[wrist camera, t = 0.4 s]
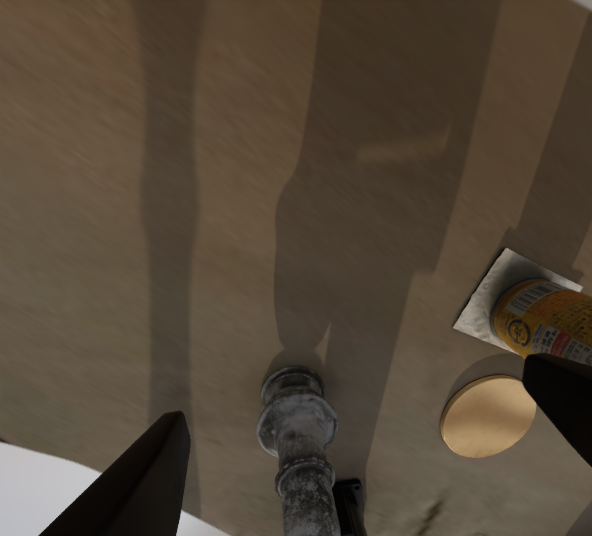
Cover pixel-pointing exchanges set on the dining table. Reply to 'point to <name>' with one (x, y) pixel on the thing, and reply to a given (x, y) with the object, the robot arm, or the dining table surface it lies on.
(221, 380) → the dining table surface
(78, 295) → the dining table surface
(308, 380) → the grey carved stone piece
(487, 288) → the condiment
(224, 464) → the dining table surface
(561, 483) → the dining table surface
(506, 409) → the coaster
